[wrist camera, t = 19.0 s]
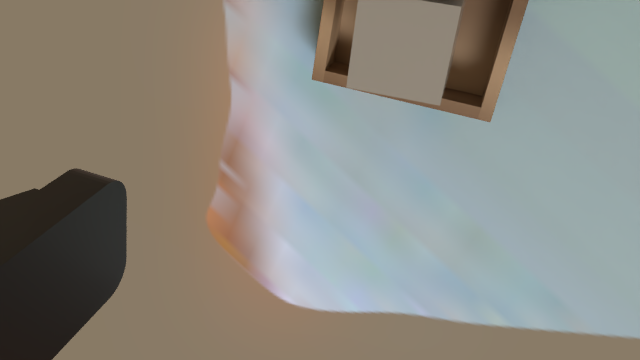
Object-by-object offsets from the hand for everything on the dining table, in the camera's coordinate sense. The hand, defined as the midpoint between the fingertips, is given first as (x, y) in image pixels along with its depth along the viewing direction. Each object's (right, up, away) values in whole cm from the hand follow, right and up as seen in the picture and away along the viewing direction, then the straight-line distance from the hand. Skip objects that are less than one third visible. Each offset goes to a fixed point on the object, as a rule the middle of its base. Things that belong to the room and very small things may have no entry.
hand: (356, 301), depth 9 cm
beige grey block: (+4, +10, +20) cm, 22 cm away
